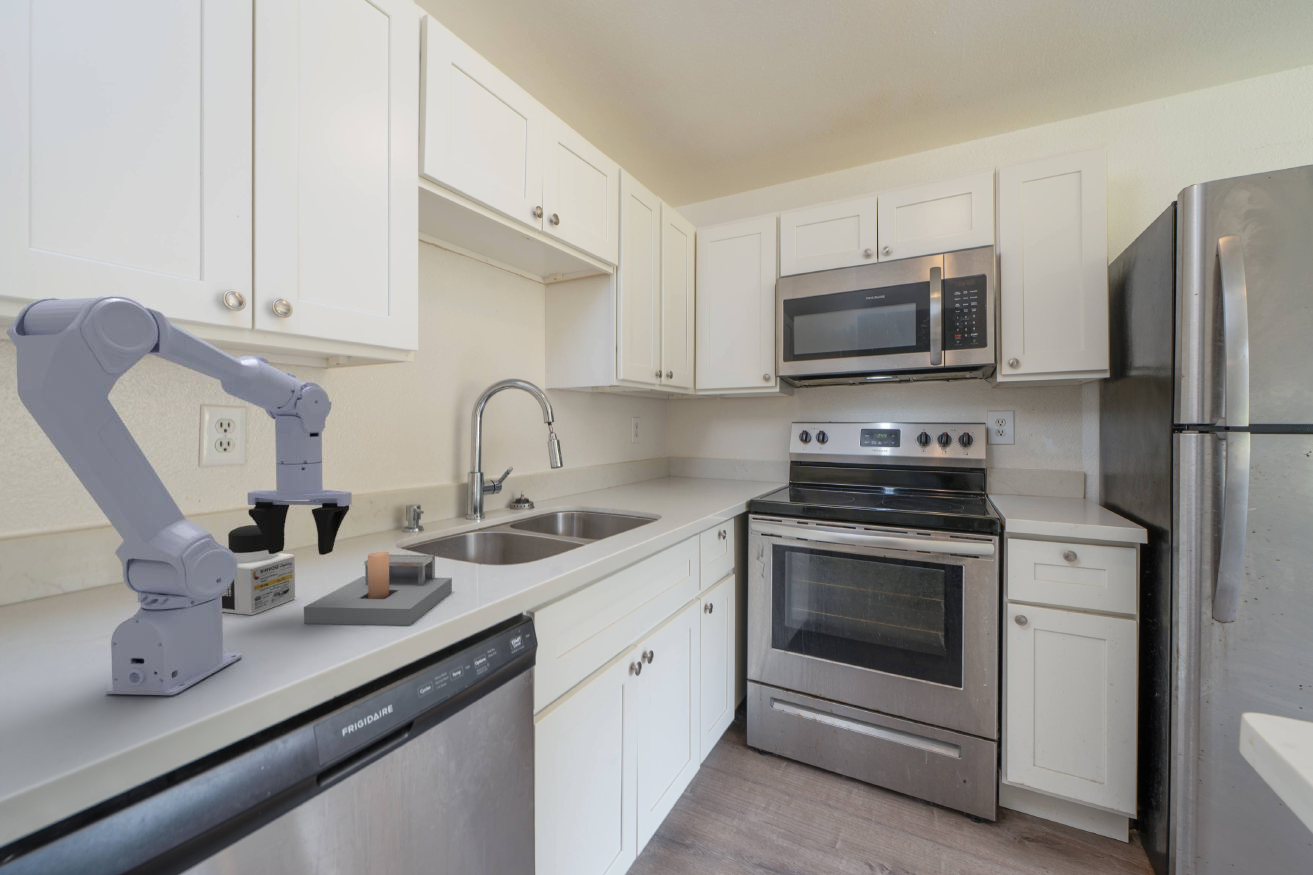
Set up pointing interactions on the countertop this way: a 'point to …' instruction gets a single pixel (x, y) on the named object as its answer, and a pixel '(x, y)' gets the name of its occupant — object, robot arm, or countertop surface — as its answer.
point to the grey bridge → (409, 567)
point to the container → (257, 574)
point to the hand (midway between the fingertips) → (301, 552)
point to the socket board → (378, 603)
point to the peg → (378, 575)
